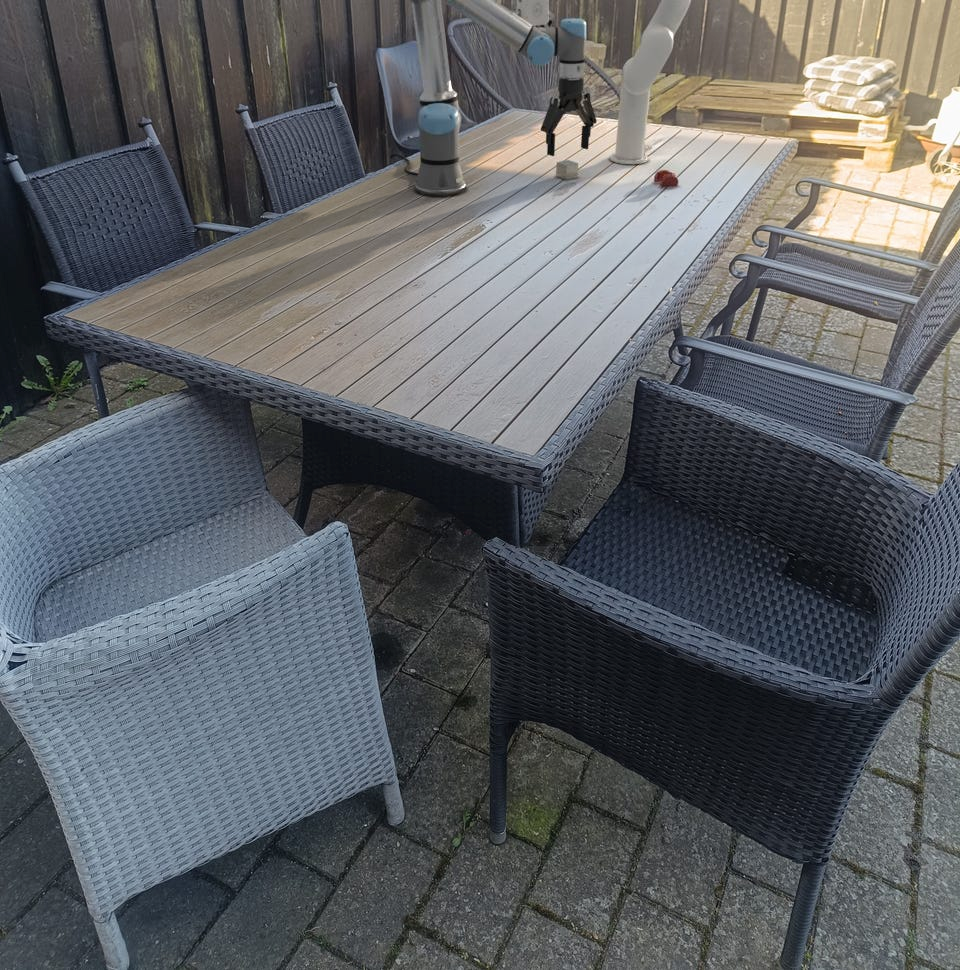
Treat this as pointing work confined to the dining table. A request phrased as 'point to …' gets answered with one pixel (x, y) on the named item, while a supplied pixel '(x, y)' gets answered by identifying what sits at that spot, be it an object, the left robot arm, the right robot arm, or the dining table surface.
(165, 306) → the dining table surface
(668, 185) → the red lumpy rounded piece
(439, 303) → the dining table surface
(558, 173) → the grey square block
